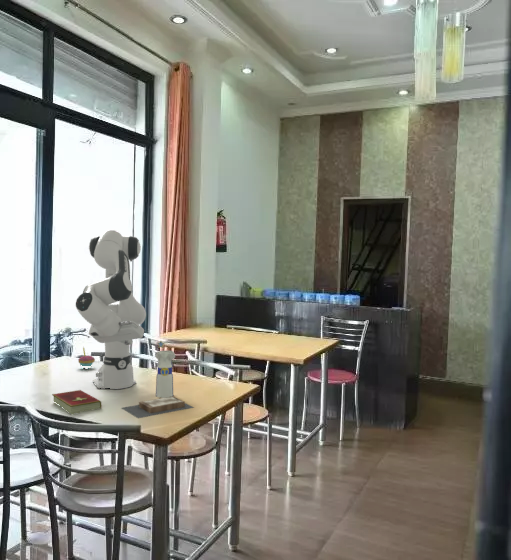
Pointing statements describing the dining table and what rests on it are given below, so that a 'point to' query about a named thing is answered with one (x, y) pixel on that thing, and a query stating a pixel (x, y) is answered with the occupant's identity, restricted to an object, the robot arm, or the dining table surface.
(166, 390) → the grey tall piece
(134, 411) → the mat
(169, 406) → the board
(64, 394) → the hardcover book
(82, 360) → the cupcake
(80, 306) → the robot arm
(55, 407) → the dining table surface
